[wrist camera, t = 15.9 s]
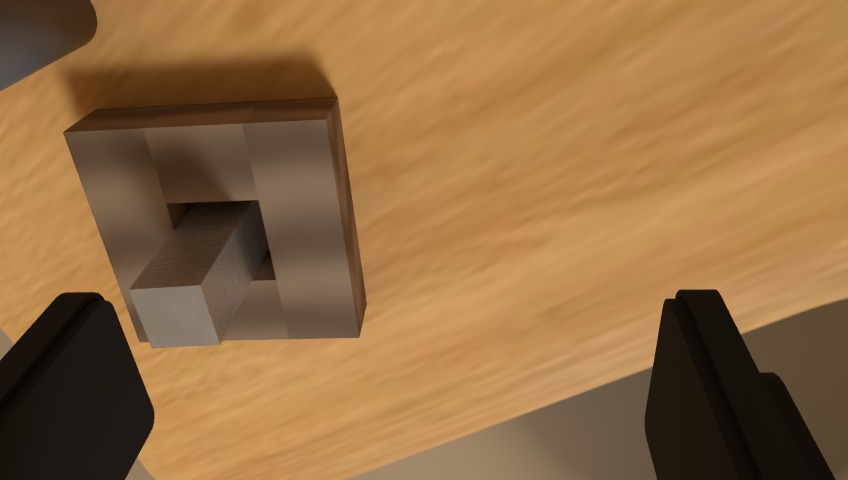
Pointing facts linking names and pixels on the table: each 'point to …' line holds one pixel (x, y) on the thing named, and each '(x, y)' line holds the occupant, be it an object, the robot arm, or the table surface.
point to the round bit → (41, 34)
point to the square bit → (201, 274)
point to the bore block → (233, 181)
